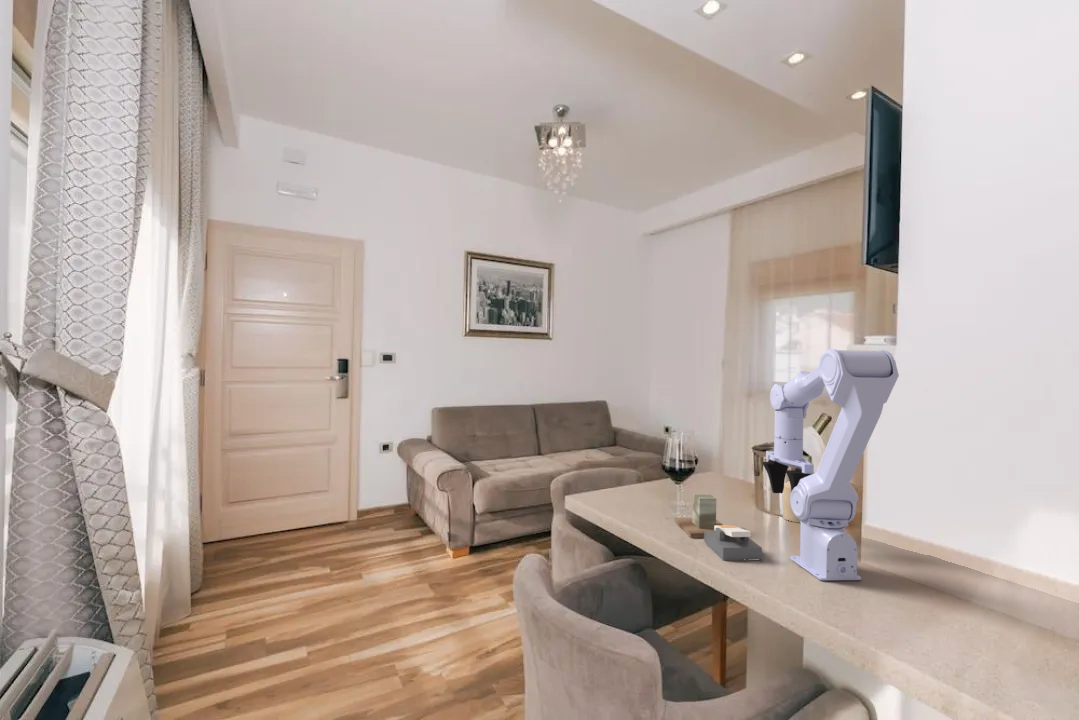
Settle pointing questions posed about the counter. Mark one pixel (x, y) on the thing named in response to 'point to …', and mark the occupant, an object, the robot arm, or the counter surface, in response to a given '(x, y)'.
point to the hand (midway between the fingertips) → (787, 497)
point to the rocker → (733, 531)
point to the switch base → (732, 546)
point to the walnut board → (692, 527)
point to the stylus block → (704, 510)
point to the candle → (788, 504)
